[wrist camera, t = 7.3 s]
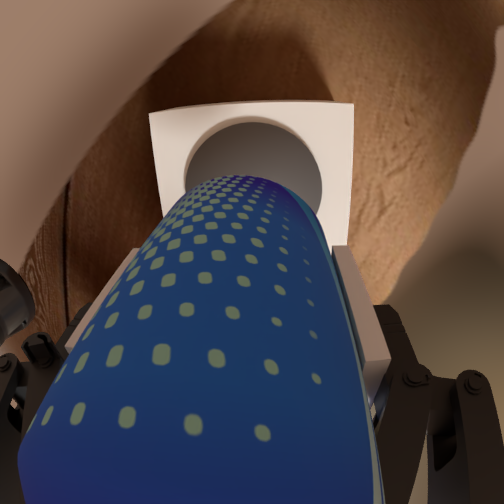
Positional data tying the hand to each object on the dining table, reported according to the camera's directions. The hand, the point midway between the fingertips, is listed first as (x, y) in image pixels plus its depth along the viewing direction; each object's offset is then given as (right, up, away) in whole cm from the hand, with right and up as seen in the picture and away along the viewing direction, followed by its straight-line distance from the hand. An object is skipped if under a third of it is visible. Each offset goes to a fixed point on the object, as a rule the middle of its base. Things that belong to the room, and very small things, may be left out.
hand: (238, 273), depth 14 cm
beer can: (0, +1, +3) cm, 3 cm away
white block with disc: (+1, +10, +18) cm, 20 cm away
